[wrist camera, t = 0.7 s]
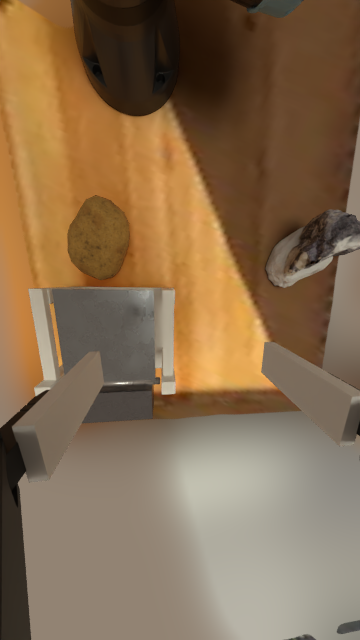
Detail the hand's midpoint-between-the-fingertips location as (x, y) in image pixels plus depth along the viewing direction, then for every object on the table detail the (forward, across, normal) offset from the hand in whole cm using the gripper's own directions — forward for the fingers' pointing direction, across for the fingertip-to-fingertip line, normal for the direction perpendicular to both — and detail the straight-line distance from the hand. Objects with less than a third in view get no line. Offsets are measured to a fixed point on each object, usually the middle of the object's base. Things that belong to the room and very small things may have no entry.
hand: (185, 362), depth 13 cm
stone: (+24, +26, +11) cm, 37 cm away
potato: (+24, -12, +13) cm, 30 cm away
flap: (+14, -10, -5) cm, 18 cm away
